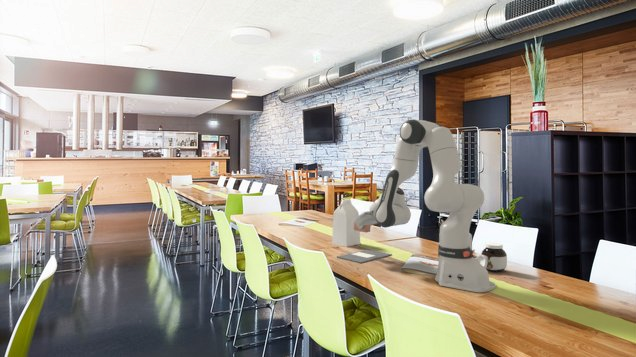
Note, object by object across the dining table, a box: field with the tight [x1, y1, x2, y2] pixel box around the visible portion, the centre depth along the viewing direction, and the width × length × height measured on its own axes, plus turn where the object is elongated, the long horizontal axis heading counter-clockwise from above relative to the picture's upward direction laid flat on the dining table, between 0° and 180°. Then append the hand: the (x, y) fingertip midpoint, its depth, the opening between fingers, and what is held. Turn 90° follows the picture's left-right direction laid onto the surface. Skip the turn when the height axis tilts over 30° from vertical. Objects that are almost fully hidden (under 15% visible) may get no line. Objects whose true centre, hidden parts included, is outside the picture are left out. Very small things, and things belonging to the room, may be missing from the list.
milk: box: [331, 198, 361, 247], centre depth 233 cm, size 12×12×26 cm
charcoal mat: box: [336, 249, 393, 264], centre depth 202 cm, size 16×24×1 cm, turn 133°
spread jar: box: [474, 242, 508, 273], centre depth 175 cm, size 12×11×12 cm
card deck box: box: [354, 222, 371, 233], centre depth 203 cm, size 4×5×8 cm
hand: (363, 227), depth 203 cm, fingers closed on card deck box, 3 cm apart
